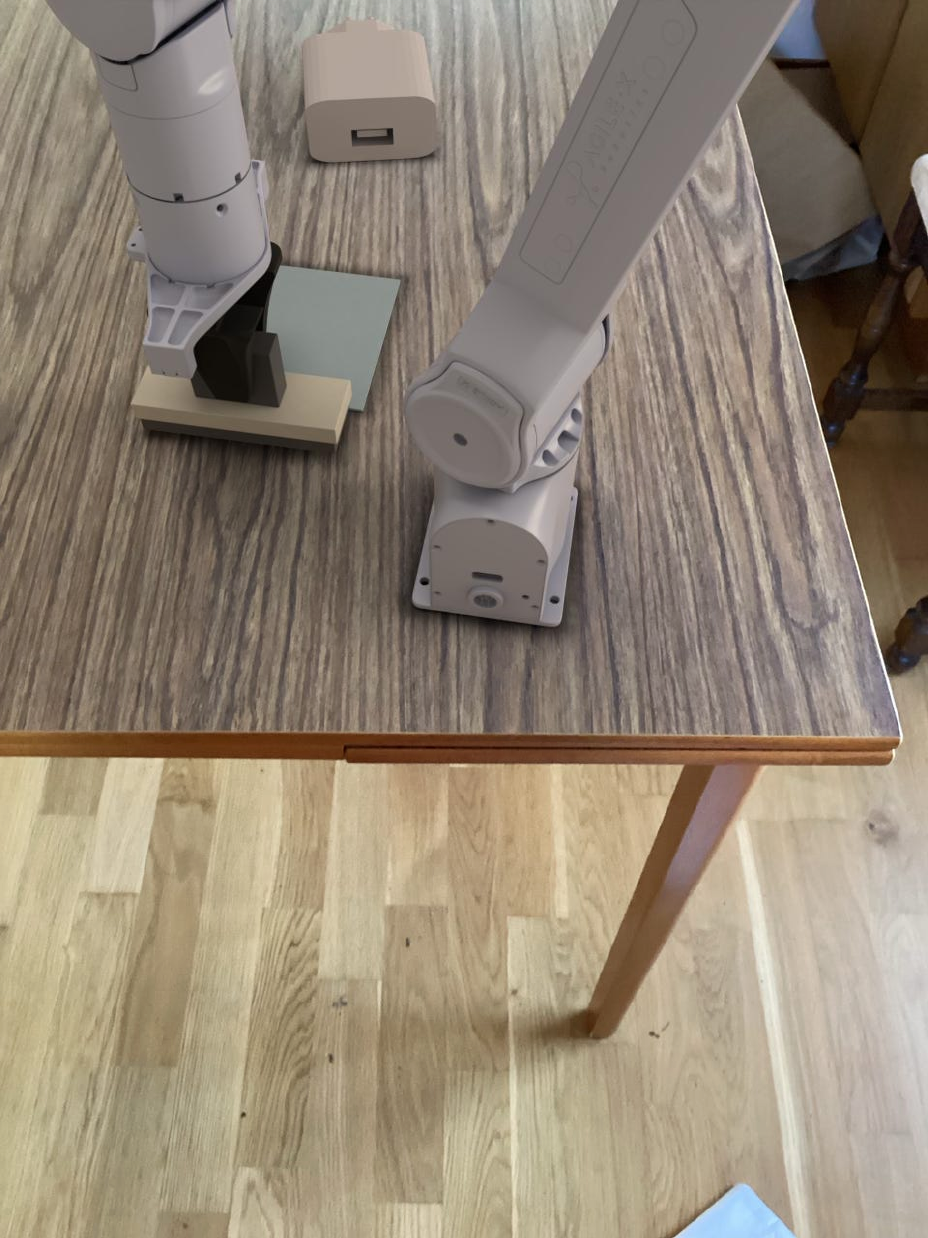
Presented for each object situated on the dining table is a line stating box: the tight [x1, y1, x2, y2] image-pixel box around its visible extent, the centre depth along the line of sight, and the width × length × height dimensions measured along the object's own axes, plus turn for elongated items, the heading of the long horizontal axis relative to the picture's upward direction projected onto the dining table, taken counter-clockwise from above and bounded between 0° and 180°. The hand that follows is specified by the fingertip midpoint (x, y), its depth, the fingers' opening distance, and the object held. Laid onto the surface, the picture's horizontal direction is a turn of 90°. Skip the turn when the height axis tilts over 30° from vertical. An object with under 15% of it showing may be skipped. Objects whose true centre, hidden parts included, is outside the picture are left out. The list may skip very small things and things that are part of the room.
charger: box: [301, 15, 437, 163], centre depth 77 cm, size 5×9×15 cm
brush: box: [130, 331, 352, 455], centre depth 58 cm, size 4×12×6 cm, turn 81°
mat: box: [266, 264, 401, 413], centre depth 66 cm, size 12×13×1 cm
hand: (239, 380), depth 58 cm, fingers closed on brush, 2 cm apart
